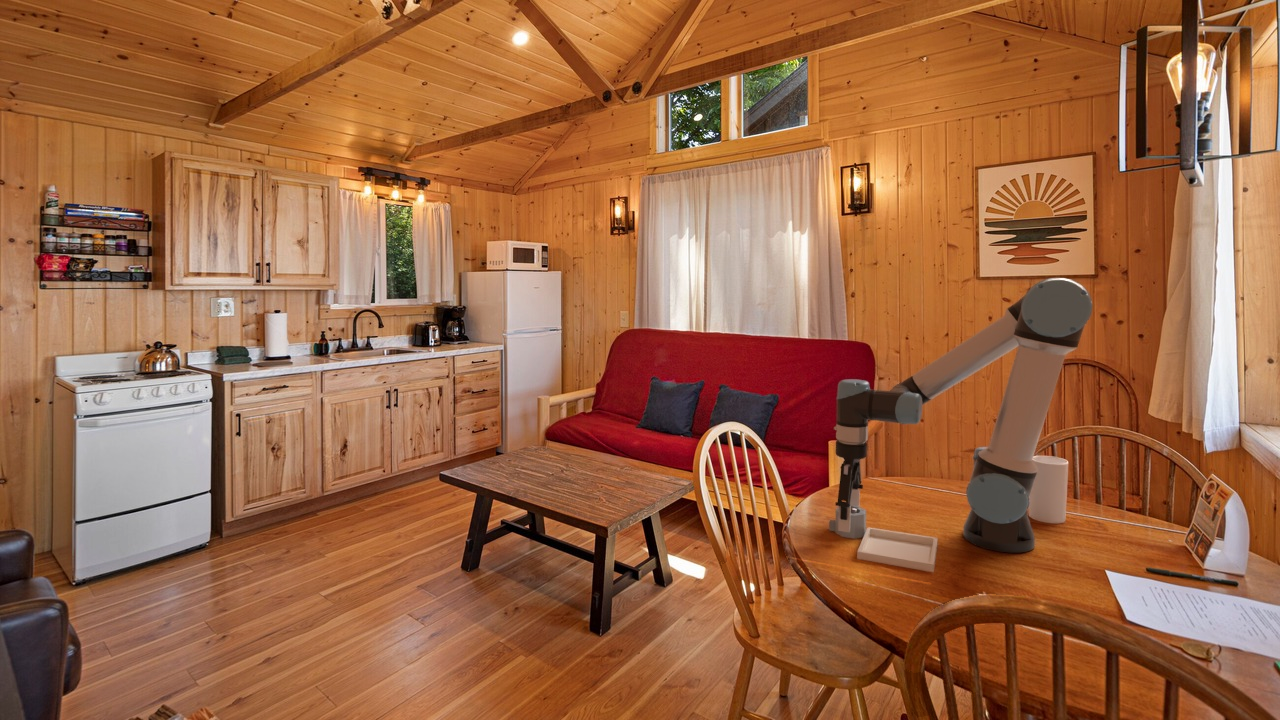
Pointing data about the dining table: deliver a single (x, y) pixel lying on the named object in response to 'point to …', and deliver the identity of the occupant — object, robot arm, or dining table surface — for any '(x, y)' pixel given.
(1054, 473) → the cup
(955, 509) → the dining table surface
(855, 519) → the grey socket block
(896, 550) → the tray
